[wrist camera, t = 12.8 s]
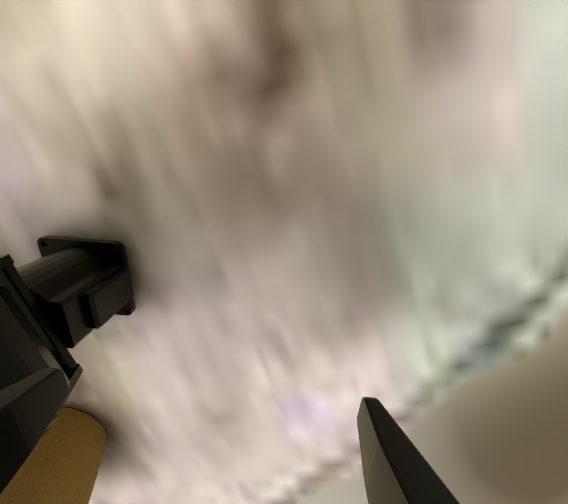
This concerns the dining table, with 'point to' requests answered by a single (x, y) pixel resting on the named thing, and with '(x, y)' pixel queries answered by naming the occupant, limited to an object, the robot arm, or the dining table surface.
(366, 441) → the robot arm
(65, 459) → the plant pot
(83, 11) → the dining table surface
